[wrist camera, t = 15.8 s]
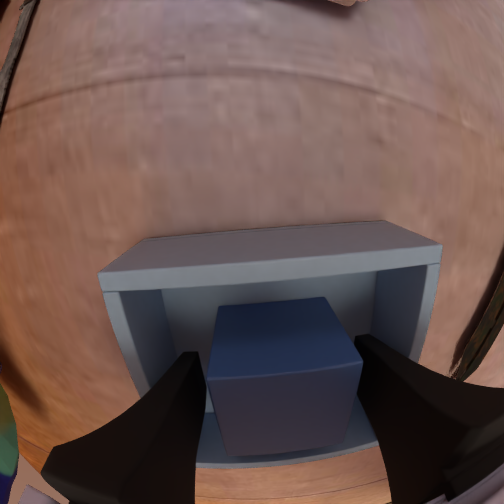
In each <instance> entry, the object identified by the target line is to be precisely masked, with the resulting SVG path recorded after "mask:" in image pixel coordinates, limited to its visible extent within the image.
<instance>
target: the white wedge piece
mask: <svg viewBox="0 0 504 504" xmlns="http://www.w3.org/2000/svg"><path fill="white" fill-rule="evenodd" d="M328 1H331V2H335V3H338V4H341V5H344V6H351V5H353V4H354V3H355V2H356V1H359V2H365V1H369V0H328Z"/></svg>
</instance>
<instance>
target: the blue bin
mask: <svg viewBox="0 0 504 504" xmlns="http://www.w3.org/2000/svg"><path fill="white" fill-rule="evenodd" d="M442 248H443V246H442V244H440V243H437V242H435V241H433V240H431V239H428V238H426V237H424V236H421V235H419V234H417V233H414V232H412V231H409V230H407V229H405V228H402V227H400V226H397V225H395V224H392V223H390V222H387V221H370V222H351V223H334V224H318V225H302V226H288V227H274V228H261V229H248V230H236V231H224V232H212V233H201V234H190V235H180V236H169V237H159V238H149V239H143V240H142V241H140V242H139V243H138V244H136V245H135V246H133V247H132V248H131V249H129V250H128V251H126V252H125V253H124V254H122V255H121V256H120V257H118V258H117V259H115V260H114V261H113V262H111V263H110V264H109V265H107V266H106V267H105V268H104V269H102V270H101V271H100V272H98V279H99V283H100V287H101V290H102V291H103V298H104V301H105V305H106V308H107V311H108V314H109V318H110V321H111V324H112V327H113V330H114V333H115V336H116V339H117V341H118V344H119V347H120V350H121V352H122V355H123V357H124V360H125V363H126V365H127V368H128V370H129V372H130V375H131V377H132V380H133V382H134V384H135V386H136V389H137V391H138V393H139V395H140V397H141V398H142V397H143V396H144V395H145V394H146V393H147V392H148V391H149V390H150V389H151V388H152V387H153V386H154V385H155V384H156V383H157V382H158V380H159V379H160V378H161V377H162V376H163V375H164V374H165V373H166V371H167V370H168V369H169V368H170V367H171V366H172V364H173V363H174V362H175V361H176V360H177V358H178V357H179V356H180V355H181V354H182V353H183V352H188V351H198V353H199V357H200V361H201V366H202V370H203V374H204V378H205V382H206V374H207V368H208V362H209V356H210V350H211V344H212V339H213V333H214V327H215V321H216V316H217V310H218V306H226V305H240V304H253V303H265V302H277V301H287V300H297V299H307V298H316V297H325V298H326V300H327V301H328V303H329V304H330V306H331V308H332V309H333V311H334V313H335V314H336V316H337V317H338V319H339V321H340V322H341V324H342V326H343V327H344V329H345V331H346V332H347V334H348V336H349V337H350V339H351V341H352V342H353V344H354V340H355V336H357V335H363V334H370V335H372V336H374V337H375V338H377V339H378V340H380V341H382V342H383V343H385V344H386V345H388V346H389V347H391V348H392V349H394V350H396V351H397V352H399V353H400V354H402V355H404V356H405V357H407V358H409V359H411V360H412V361H414V362H416V363H418V361H419V358H420V355H421V352H422V348H423V345H424V341H425V338H426V334H427V330H428V326H429V322H430V318H431V314H432V309H433V305H434V300H435V295H436V290H437V284H438V278H439V272H440V262H441V257H442ZM206 386H207V382H206ZM378 445H379V443H378V440H377V437H376V435H375V432H374V430H373V428H372V426H371V423H370V421H369V419H368V417H367V415H366V413H365V411H364V409H363V407H362V405H361V403H360V401H359V399H358V396H357V394H356V398H355V402H354V406H353V409H352V413H351V417H350V420H349V424H348V427H347V430H346V434H345V437H344V440H343V442H342V443H339V444H334V445H329V446H324V447H319V448H313V449H307V450H300V451H293V452H284V453H275V454H263V455H246V456H228V455H227V453H226V450H225V447H224V444H223V440H222V437H221V434H220V430H219V427H218V423H217V420H216V416H215V413H214V409H213V405H212V402H211V398H210V394H209V390H208V386H207V394H206V409H205V414H204V419H203V425H202V430H201V435H200V440H199V445H198V450H197V457H196V468H222V469H231V468H259V467H272V466H282V465H291V464H298V463H305V462H311V461H317V460H322V459H327V458H332V457H337V456H341V455H346V454H350V453H354V452H358V451H361V450H365V449H368V448H372V447H375V446H378Z"/></svg>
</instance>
